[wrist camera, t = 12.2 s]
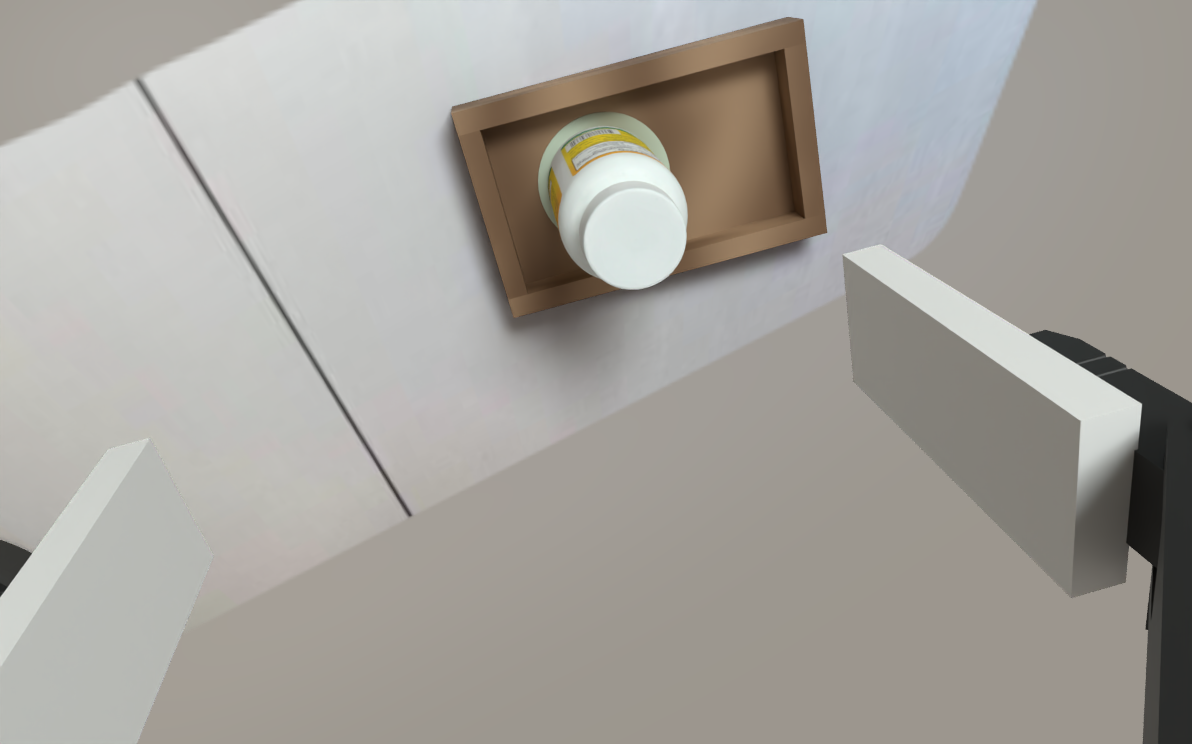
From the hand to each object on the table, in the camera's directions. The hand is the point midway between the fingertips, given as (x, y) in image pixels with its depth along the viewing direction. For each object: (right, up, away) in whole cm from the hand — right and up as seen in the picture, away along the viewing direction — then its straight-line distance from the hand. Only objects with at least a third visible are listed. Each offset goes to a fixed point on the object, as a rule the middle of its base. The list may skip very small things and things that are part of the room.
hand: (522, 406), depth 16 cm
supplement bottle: (+2, +10, +25) cm, 26 cm away
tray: (+4, +11, +25) cm, 27 cm away
